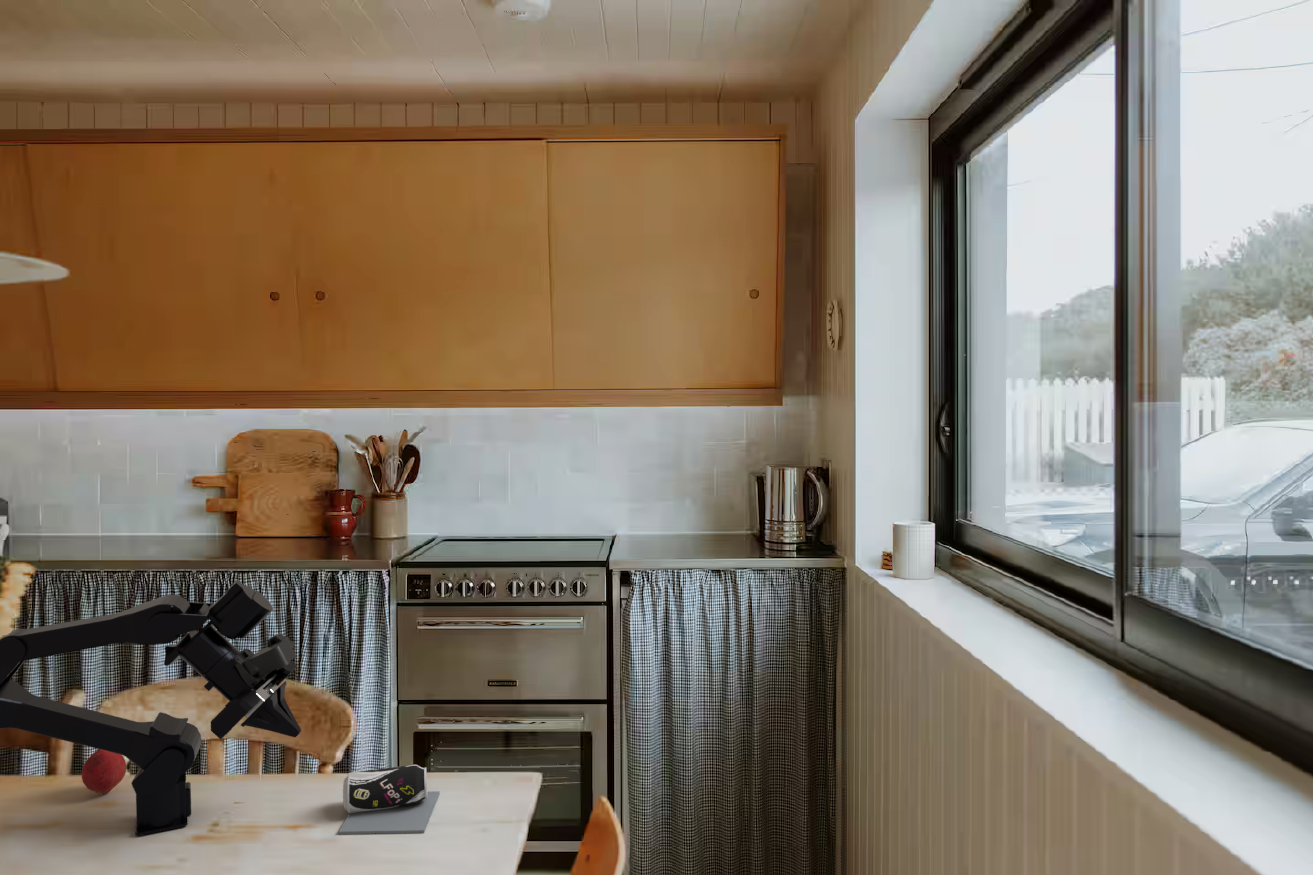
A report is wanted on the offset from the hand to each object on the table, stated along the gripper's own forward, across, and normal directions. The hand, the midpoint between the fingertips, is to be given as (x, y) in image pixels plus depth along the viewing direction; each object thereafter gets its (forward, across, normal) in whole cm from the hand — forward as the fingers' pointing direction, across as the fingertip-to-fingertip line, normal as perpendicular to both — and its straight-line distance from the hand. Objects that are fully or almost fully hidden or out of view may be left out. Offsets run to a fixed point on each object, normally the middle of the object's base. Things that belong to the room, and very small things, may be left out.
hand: (298, 734), depth 128 cm
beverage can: (+11, 0, +2) cm, 11 cm away
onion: (-14, +8, +31) cm, 35 cm away
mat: (+18, 0, -1) cm, 18 cm away
